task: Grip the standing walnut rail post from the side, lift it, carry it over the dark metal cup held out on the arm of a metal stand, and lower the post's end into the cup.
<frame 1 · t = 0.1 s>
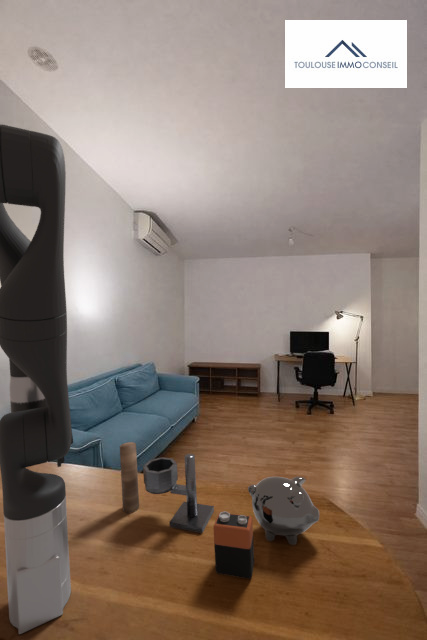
hand: (36, 471, 64), 17 cm above the table, tool pointing down, fingers open, 8 cm apart
piggy bank: (284, 534, 67), on the table
cup bracket: (162, 513, 75), on the table
rail post: (131, 507, 78), on the table
battery: (235, 569, 58), on the table
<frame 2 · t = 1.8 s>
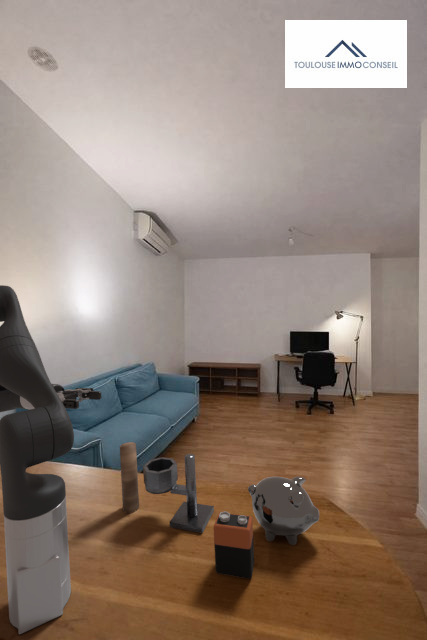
hand: (89, 399, 81), 27 cm above the table, tool horizontal, fingers open, 8 cm apart
nothing on the table moved.
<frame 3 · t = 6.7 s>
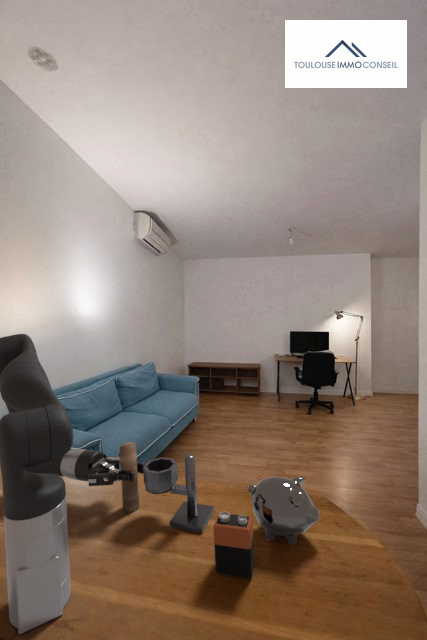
hand: (138, 471, 77), 10 cm above the table, tool horizontal, fingers closed on rail post, 4 cm apart
rail post: (131, 507, 78), on the table, touching gripper
everything else where it was.
when the fingers open (18 cm above the table, at t = 12.4 s): rail post stays where it is, resting on cup bracket.
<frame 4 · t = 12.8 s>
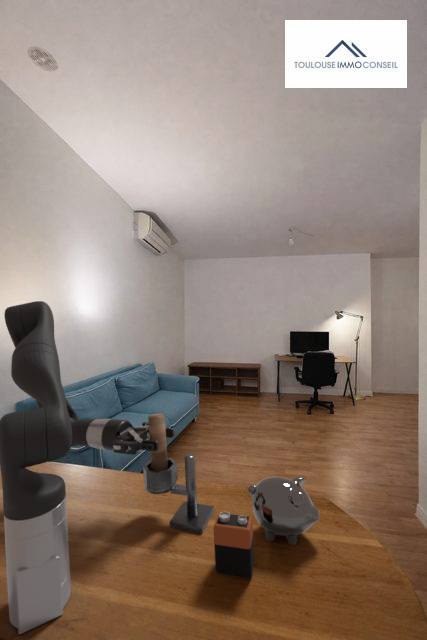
hand: (166, 439, 74), 19 cm above the table, tool horizontal, fingers open, 7 cm apart
rail post: (160, 481, 75), point 8 cm above the table, touching cup bracket
everything else where it was.
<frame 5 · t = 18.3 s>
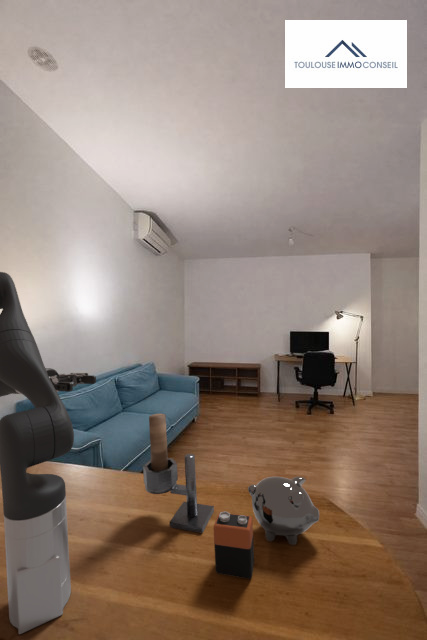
hand: (84, 383, 80), 32 cm above the table, tool horizontal, fingers open, 8 cm apart
nothing on the table moved.
at the end: rail post 0.1 cm off-centre on the cup bracket, point 8.0 cm above the cup bracket's base; rail post tilted 0°; the gripper is holding nothing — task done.
